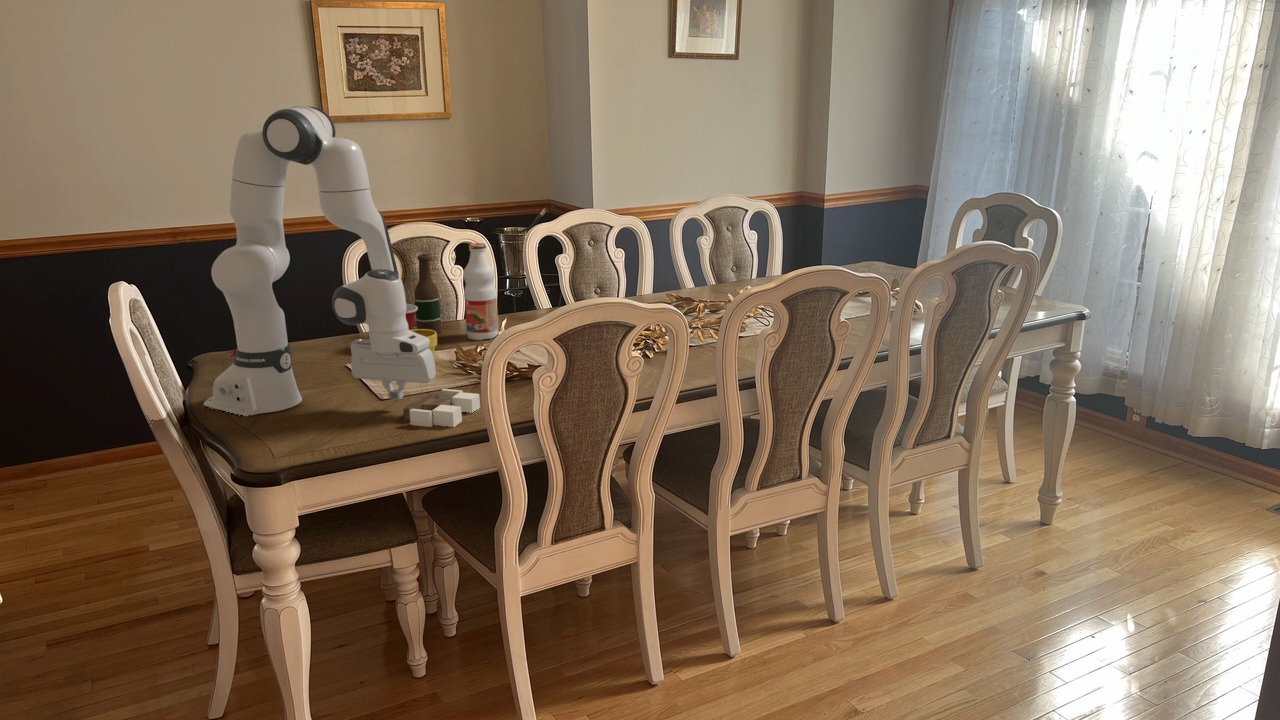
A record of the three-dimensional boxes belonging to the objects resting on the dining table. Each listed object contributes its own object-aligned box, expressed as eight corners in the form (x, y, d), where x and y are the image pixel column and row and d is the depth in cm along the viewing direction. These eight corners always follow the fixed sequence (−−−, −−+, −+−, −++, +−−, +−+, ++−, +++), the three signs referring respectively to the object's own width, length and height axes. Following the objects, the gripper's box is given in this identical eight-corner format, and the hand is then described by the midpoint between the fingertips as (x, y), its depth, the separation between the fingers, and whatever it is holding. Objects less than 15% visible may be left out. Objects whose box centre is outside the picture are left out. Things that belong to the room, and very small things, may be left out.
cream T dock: (410, 424, 208) (409, 410, 207) (444, 402, 222) (443, 388, 221) (451, 429, 205) (449, 414, 204) (482, 406, 219) (481, 392, 218)
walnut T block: (404, 420, 210) (402, 408, 210) (428, 405, 221) (427, 393, 220) (435, 423, 208) (434, 410, 207) (458, 407, 218) (457, 395, 217)
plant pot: (422, 360, 256) (420, 326, 253) (447, 367, 249) (444, 332, 247) (391, 369, 248) (388, 334, 245) (415, 376, 242) (412, 340, 239)
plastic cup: (415, 351, 264) (412, 310, 261) (377, 351, 265) (374, 310, 261) (425, 341, 275) (422, 301, 271) (388, 341, 275) (385, 302, 272)
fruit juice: (503, 338, 278) (498, 245, 270) (473, 342, 273) (467, 248, 265) (492, 331, 285) (486, 240, 277) (462, 335, 281) (456, 243, 273)
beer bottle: (412, 335, 281) (405, 257, 274) (422, 329, 289) (416, 252, 282) (436, 336, 280) (430, 257, 273) (446, 330, 287) (440, 253, 280)
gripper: (342, 342, 213) (349, 399, 217) (422, 346, 207) (428, 405, 211) (357, 335, 219) (363, 390, 223) (436, 339, 213) (441, 396, 217)
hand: (396, 397), depth 217 cm, fingers closed
